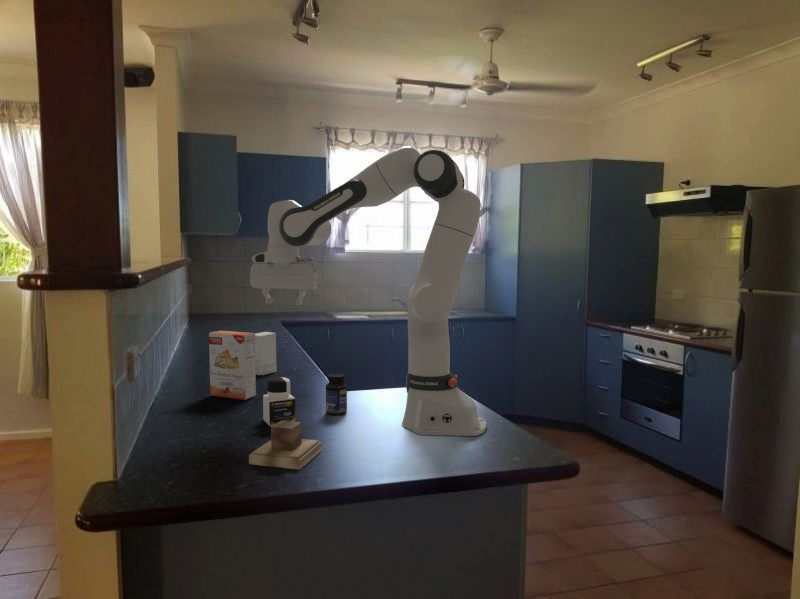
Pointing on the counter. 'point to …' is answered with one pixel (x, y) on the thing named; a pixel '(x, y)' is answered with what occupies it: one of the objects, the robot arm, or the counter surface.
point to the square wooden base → (286, 455)
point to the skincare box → (265, 353)
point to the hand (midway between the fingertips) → (284, 304)
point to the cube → (286, 435)
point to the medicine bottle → (278, 401)
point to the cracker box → (232, 364)
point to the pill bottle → (336, 395)
